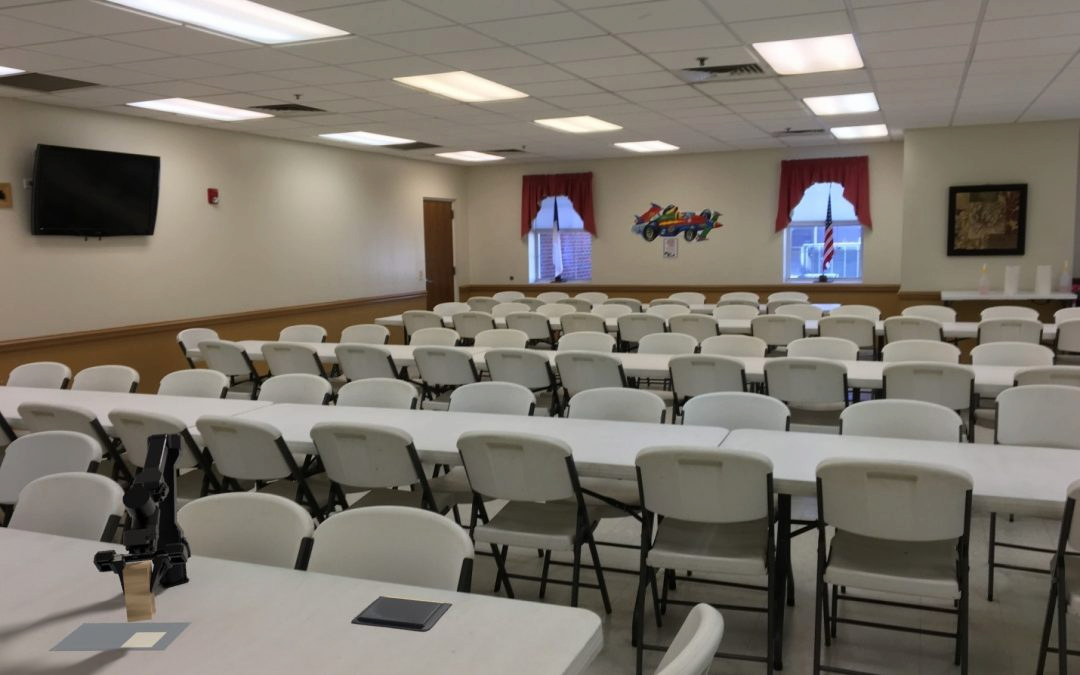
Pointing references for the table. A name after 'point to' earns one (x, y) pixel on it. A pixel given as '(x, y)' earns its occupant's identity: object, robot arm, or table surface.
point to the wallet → (402, 613)
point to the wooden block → (138, 591)
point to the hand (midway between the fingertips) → (138, 593)
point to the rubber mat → (121, 636)
